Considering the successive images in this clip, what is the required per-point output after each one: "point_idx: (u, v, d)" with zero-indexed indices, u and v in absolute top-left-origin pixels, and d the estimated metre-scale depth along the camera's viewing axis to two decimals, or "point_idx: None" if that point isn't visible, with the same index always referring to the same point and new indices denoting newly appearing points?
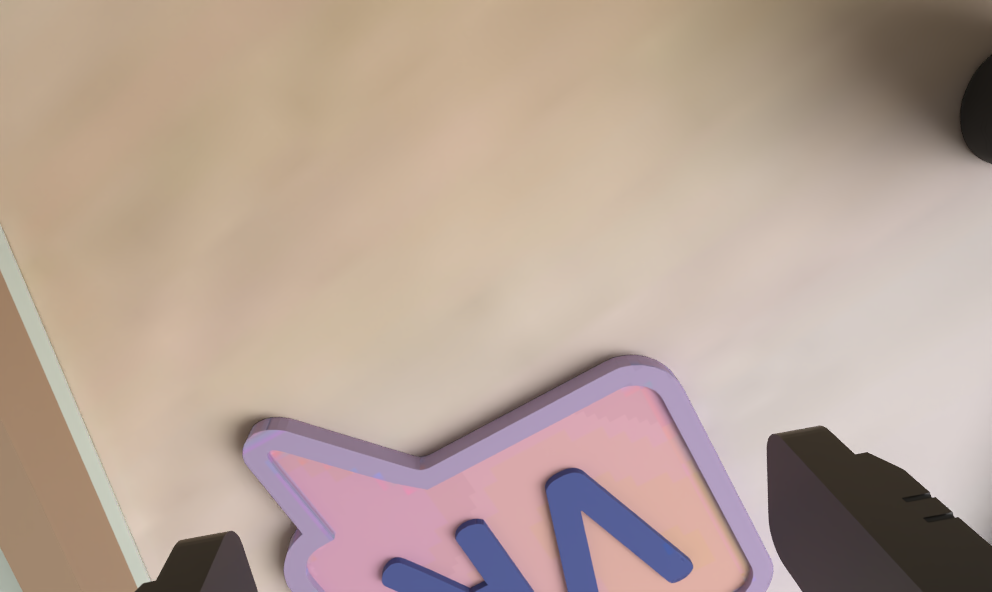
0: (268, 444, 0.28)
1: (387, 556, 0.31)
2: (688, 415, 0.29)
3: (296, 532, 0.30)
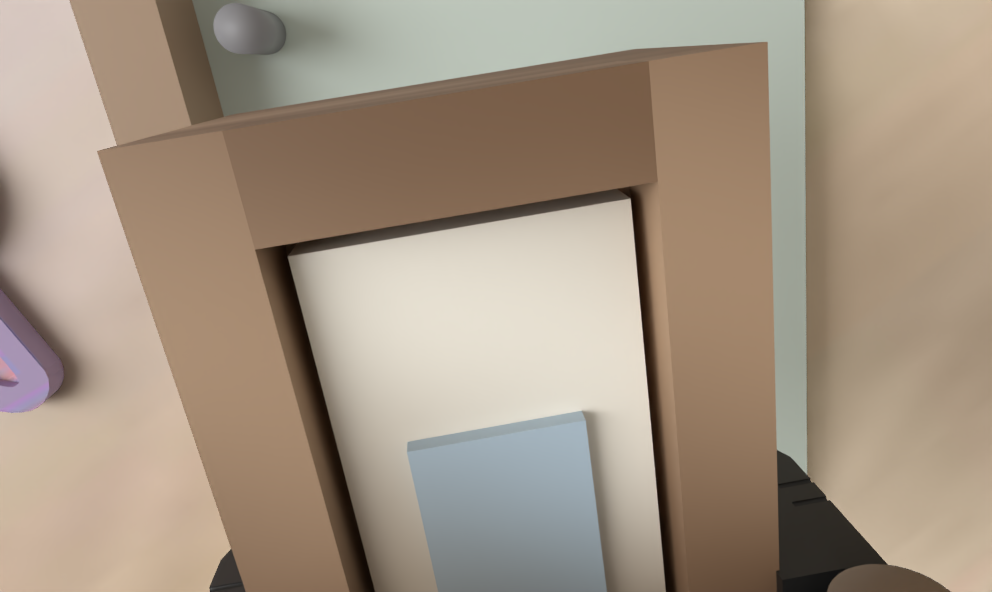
0: (18, 394, 0.23)
1: None
2: None
3: None
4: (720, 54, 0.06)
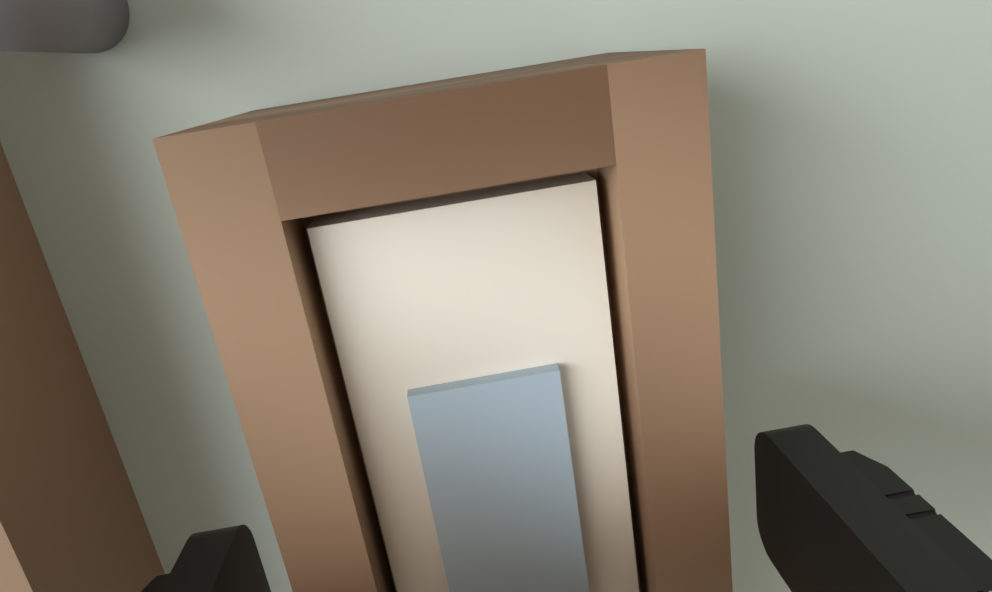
0: None
1: None
2: None
3: None
4: (666, 59, 0.07)
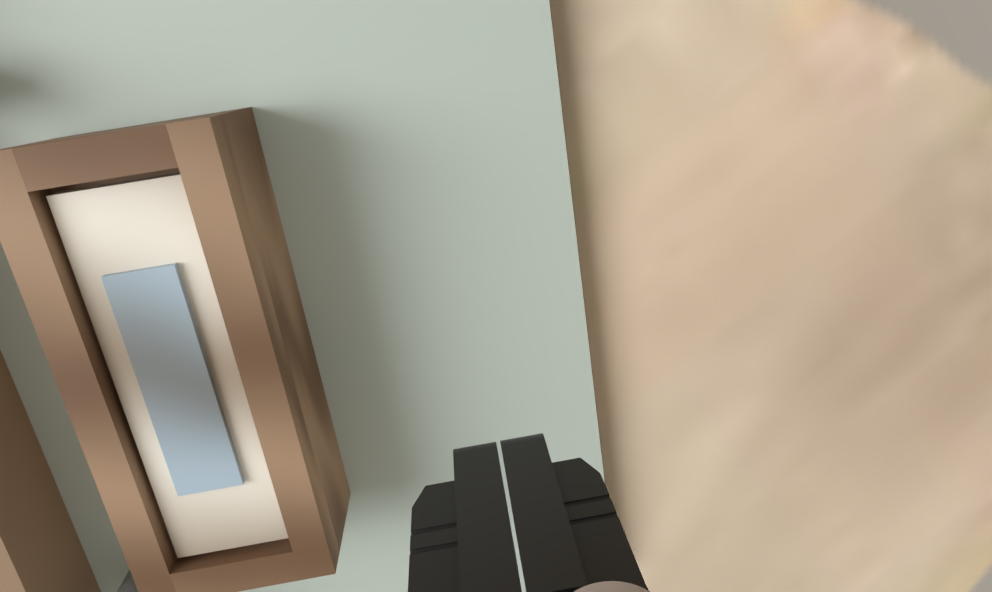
0: None
1: None
2: None
3: None
4: (193, 121, 0.16)
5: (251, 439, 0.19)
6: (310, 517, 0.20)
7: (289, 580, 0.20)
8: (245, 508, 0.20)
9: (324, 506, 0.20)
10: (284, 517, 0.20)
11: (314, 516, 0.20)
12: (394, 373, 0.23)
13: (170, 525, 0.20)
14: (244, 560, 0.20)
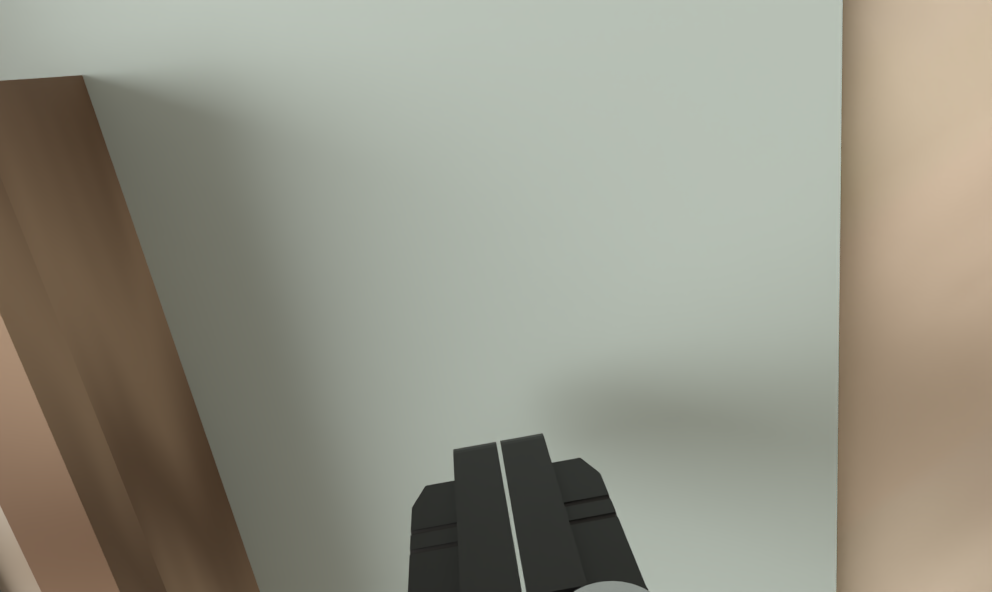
0: None
1: None
2: None
3: None
4: None
5: None
6: None
7: None
8: None
9: None
10: None
11: None
12: None
13: None
14: None
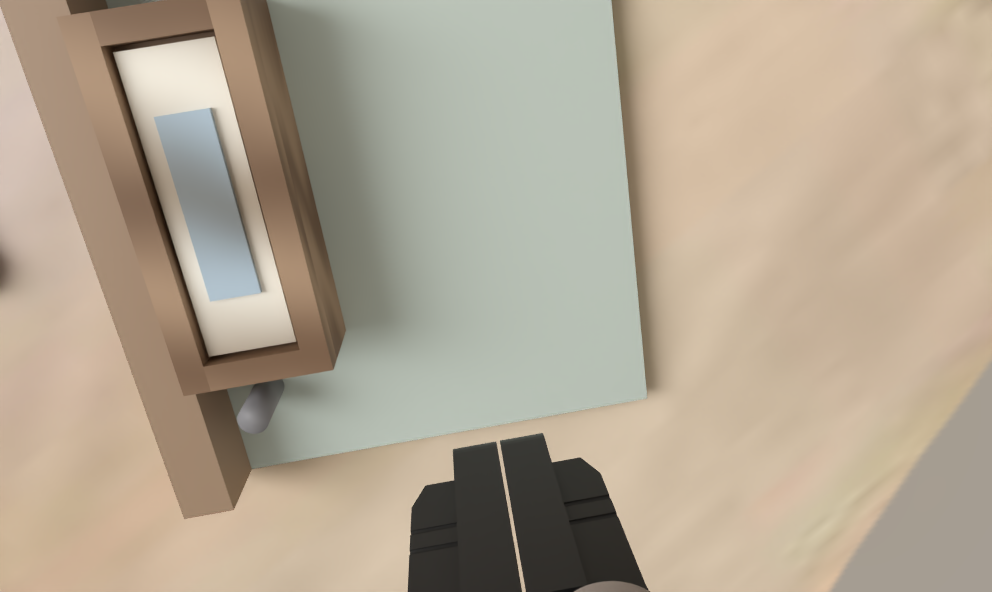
0: None
1: None
2: None
3: None
4: None
5: (267, 256, 0.25)
6: (313, 320, 0.25)
7: (296, 375, 0.26)
8: (262, 315, 0.25)
9: (324, 317, 0.26)
10: (293, 319, 0.25)
11: (316, 320, 0.25)
12: (472, 216, 0.28)
13: (203, 328, 0.25)
14: (261, 357, 0.25)
